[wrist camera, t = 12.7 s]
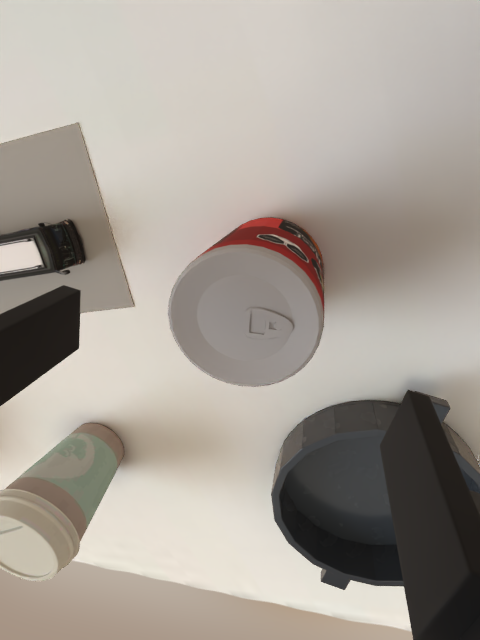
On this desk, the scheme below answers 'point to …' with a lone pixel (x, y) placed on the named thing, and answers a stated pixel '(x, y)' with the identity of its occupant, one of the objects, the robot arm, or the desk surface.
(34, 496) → the coffee cup
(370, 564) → the pan
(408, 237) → the desk surface
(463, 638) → the robot arm
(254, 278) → the canned food
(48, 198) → the grey rectangular mat
